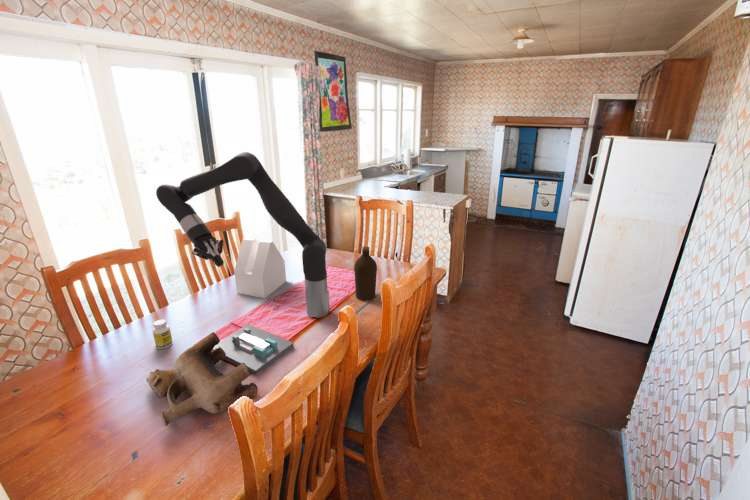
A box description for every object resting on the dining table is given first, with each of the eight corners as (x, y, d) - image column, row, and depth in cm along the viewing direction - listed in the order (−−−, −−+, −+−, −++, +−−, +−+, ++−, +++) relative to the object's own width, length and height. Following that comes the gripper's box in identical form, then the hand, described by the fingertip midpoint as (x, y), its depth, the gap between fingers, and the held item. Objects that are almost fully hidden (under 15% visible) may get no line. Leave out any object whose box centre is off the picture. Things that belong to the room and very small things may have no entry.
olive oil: (363, 303, 164) (363, 253, 155) (350, 295, 172) (349, 246, 163) (381, 297, 170) (382, 248, 161) (367, 289, 178) (367, 241, 169)
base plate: (248, 328, 144) (247, 316, 142) (293, 347, 133) (292, 334, 131) (209, 351, 130) (207, 339, 128) (256, 375, 118) (254, 361, 117)
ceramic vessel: (209, 321, 122) (128, 362, 106) (258, 369, 104) (167, 427, 88) (218, 348, 129) (142, 391, 113) (265, 398, 110) (182, 457, 94)
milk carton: (264, 298, 168) (259, 248, 159) (237, 293, 172) (230, 244, 163) (286, 281, 185) (282, 235, 176) (260, 277, 189) (255, 232, 180)
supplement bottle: (165, 350, 130) (160, 327, 127) (152, 348, 131) (147, 325, 128) (176, 341, 135) (171, 319, 132) (163, 339, 136) (158, 317, 133)
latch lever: (244, 332, 133) (270, 344, 127) (245, 335, 134) (270, 346, 128) (237, 336, 131) (263, 348, 125) (238, 339, 131) (263, 351, 125)
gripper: (181, 227, 128) (209, 266, 126) (214, 219, 138) (239, 254, 137) (175, 239, 132) (202, 276, 131) (207, 229, 143) (232, 264, 141)
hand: (221, 265), depth 134 cm, fingers closed
